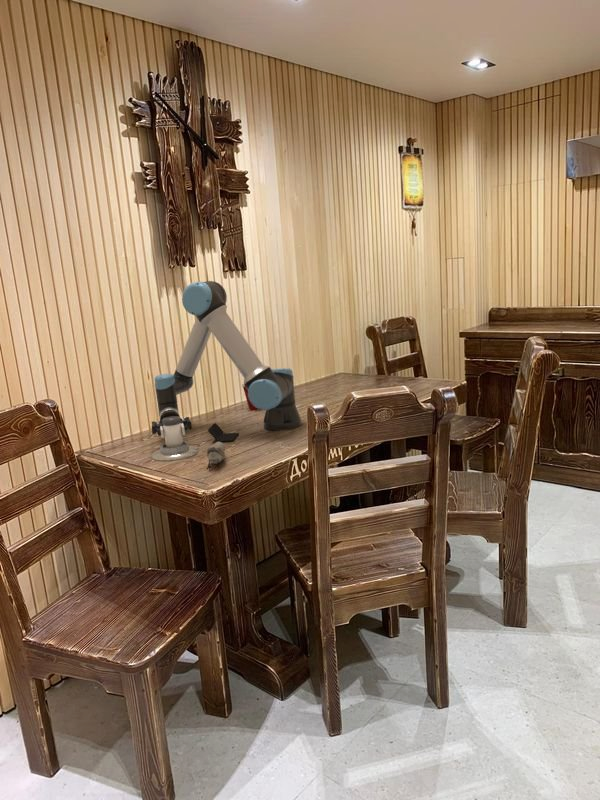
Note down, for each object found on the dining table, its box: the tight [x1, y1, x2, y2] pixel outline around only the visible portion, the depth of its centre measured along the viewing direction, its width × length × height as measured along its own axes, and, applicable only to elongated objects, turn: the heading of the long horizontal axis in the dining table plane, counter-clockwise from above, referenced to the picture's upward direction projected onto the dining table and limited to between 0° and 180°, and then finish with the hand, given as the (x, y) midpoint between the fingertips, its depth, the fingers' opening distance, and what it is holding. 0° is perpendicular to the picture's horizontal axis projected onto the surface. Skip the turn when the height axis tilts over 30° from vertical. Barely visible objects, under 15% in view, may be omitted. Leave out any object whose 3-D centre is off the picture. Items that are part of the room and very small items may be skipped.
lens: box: [162, 415, 184, 448], centre depth 209 cm, size 6×6×12 cm
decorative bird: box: [205, 441, 226, 471], centre depth 194 cm, size 5×16×8 cm, turn 179°
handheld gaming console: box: [207, 422, 240, 444], centre depth 226 cm, size 12×7×10 cm
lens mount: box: [151, 440, 199, 462], centre depth 210 cm, size 16×16×4 cm
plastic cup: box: [241, 383, 258, 411], centre depth 274 cm, size 11×11×12 cm
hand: (172, 432), depth 204 cm, fingers open, 6 cm apart
